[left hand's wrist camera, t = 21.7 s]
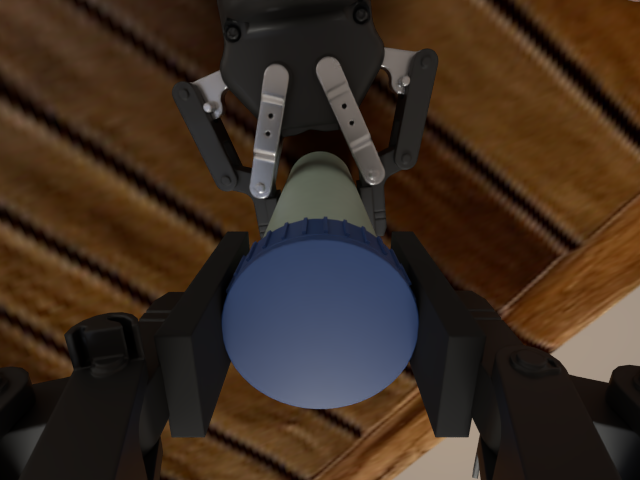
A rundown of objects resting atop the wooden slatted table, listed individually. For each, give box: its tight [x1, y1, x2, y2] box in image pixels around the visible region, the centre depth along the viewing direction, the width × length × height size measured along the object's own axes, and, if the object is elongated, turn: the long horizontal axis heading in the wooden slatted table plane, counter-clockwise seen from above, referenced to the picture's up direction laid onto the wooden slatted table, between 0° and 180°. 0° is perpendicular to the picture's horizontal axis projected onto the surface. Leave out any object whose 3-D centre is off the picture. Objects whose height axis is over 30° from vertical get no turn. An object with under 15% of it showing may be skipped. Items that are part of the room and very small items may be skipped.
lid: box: [221, 216, 419, 409], centre depth 11 cm, size 5×6×2 cm
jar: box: [263, 152, 377, 238], centre depth 20 cm, size 5×5×19 cm
